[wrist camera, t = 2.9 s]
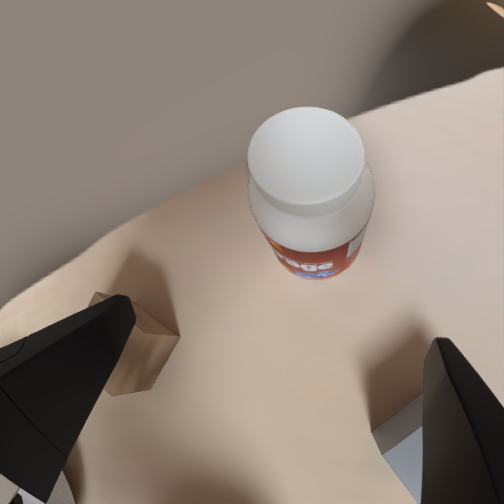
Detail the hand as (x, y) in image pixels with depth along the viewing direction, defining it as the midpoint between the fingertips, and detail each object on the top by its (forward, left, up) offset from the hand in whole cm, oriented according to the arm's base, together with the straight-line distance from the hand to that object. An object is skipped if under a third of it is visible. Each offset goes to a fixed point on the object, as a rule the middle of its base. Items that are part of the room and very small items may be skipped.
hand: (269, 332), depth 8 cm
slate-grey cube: (+1, -11, -13) cm, 17 cm away
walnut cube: (-9, +8, -13) cm, 18 cm away
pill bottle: (+6, +4, -13) cm, 15 cm away
